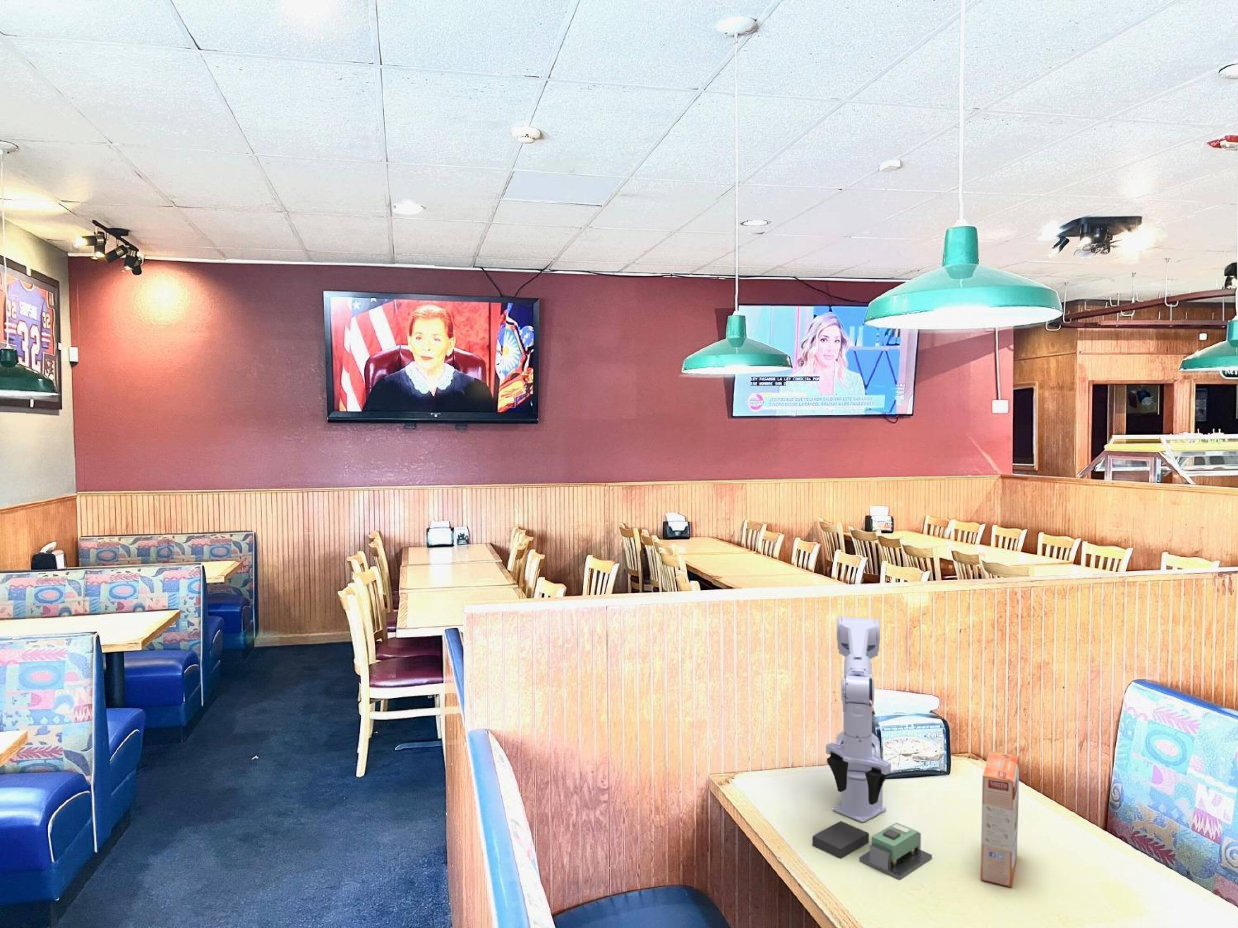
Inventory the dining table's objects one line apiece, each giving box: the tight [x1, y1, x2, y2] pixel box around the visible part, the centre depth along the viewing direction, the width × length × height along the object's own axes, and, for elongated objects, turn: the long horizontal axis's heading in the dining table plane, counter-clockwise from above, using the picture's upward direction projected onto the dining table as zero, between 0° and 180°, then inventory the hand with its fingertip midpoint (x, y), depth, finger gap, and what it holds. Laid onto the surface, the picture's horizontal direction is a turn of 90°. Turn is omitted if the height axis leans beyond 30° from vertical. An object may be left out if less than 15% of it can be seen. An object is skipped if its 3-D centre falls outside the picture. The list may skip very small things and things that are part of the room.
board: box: [870, 822, 919, 861], centre depth 163 cm, size 9×5×4 cm, turn 130°
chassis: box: [858, 831, 933, 881], centre depth 163 cm, size 12×9×4 cm
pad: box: [811, 820, 870, 859], centre depth 170 cm, size 10×7×2 cm
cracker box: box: [980, 750, 1020, 888], centre depth 160 cm, size 14×6×21 cm, turn 150°
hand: (857, 796), depth 170 cm, fingers open, 7 cm apart
